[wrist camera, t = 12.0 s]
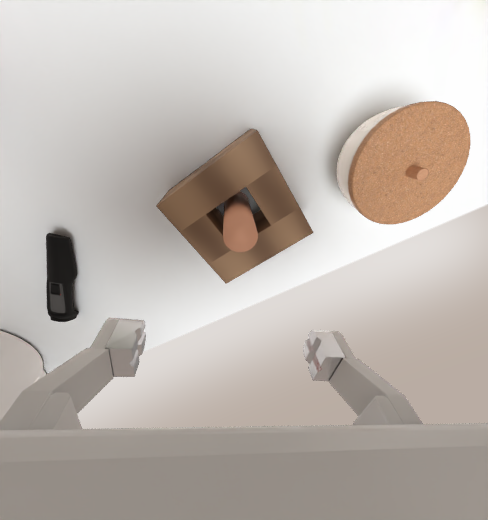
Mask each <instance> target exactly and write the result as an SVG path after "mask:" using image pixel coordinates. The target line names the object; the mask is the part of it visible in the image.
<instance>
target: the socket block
mask: <svg viewBox="0 0 488 520" xmlns="http://www.w3.org/2000/svg"><path fill="white" fill-rule="evenodd" d="M245 187H246V188H247V189H248V191H249V192H250V194H251V195H252V197H253V198H254V200H255V201H256V203H257V205H258V206H259V208H260V209H261V210H259V211H258V212H256V213H254V214H253V218H254V222H255V225H256V229H257V232H258V240H257V242H256V244H255V246H254V247H253V248H251V249H250V250H248V251H245V252H235V251H232V250H230V249H229V248H228V247H227V246H226V245H225V243H224V240H223V222H224V217H223V216H222V214H221V213H220V212H219V210H218V209H217V208H216V207H217V206H219V205H220V204H221V203H223V202H224V201H226V200H227V199H229V198H230V197H232V196H233V195H235V194H236V193H237V192H239V191H240V190H242V189H243V188H245ZM157 207H158V209H159V210H160V211H161V212H162V213H163V214H164V215H165V216H166V217H167V219H168V220H169V221H170V222H171V223H172V224H173V225H174V226H175V227H176V229H177V230H178V231H179V232H180V233H181V234H182V235H183V236H184V237H185V239H186V240H187V241H188V242H189V243H190V244H191V245H192V246H193V247H194V249H195V250H196V251H197V252H198V253H199V254H200V255H201V256H202V257H203V259H204V260H205V261H206V262H207V263H208V264H209V265H210V266H211V267H212V269H213V270H214V271H215V272H216V273H217V274H218V275H219V276H220V277H221V279H222V280H223V281H224V282H225V283H228V282H230V281H232V280H233V279H235V278H237V277H238V276H240V275H242V274H244V273H245V272H247V271H249V270H250V269H252V268H254V267H255V266H257V265H259V264H261V263H262V262H264V261H266V260H267V259H269V258H271V257H273V256H274V255H276V254H278V253H279V252H281V251H283V250H285V249H286V248H288V247H290V246H291V245H293V244H295V243H297V242H298V241H300V240H302V239H303V238H305V237H307V236H308V235H310V234H312V233H313V231H312V229H311V227H310V226H309V224H308V222H307V220H306V218H305V216H304V215H303V213H302V211H301V209H300V207H299V205H298V204H297V202H296V200H295V198H294V196H293V194H292V193H291V191H290V189H289V187H288V185H287V184H286V182H285V180H284V178H283V176H282V174H281V173H280V171H279V169H278V167H277V165H276V163H275V162H274V160H273V158H272V156H271V154H270V152H269V151H268V149H267V147H266V145H265V143H264V141H263V140H262V138H261V136H260V134H259V132H258V131H257V130H255V129H250V130H248V131H247V132H246V133H244V134H243V135H242V136H240V137H239V138H238V139H236V140H235V141H234V142H232V143H231V144H230V145H228V146H227V147H226V148H225V149H223V150H222V151H221V152H219V153H218V154H217V155H215V156H214V157H213V158H211V159H210V160H209V161H207V162H206V163H205V164H203V165H202V166H201V167H199V168H198V169H197V170H195V171H194V172H193V173H191V174H190V175H189V176H187V177H186V178H185V179H183V180H182V181H181V182H179V183H178V184H177V185H175V186H174V187H173V188H172V189H170V190H169V191H168V192H167V193H166V195H165V196H164V197H163V198H162V199H161V201H160V202H159V203H158V204H157Z"/></svg>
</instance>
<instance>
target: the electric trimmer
mask: <svg viewBox="0 0 488 520" xmlns="http://www.w3.org/2000/svg"><path fill="white" fill-rule="evenodd" d="M46 249H47V309H48V315H49V316H51V320H53V321H58V322H66V321H70V320H73V319H75V318H76V317H77V314H78V311H76V310H74V308H73V287H72V285H73V282H74V280H75V278H76V276H77V270H76V265H75V260H74V255H73V250H72V245H71V240H70V238H68V237H64V236H60V235H56V234H51V233H48V234H47V236H46Z"/></svg>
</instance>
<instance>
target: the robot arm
mask: <svg viewBox="0 0 488 520" xmlns="http://www.w3.org/2000/svg"><path fill="white" fill-rule="evenodd" d="M144 328H145V321H144V320H133V319H118V318H108V319H107V320H106V321H105V323H104V325H103V326H102V328H101V330H100V332H99V333H98V335H97V337H96V339H95V340H94V342H93V344H92V346H91V347H90V348H86V349H84V350H83V351H81V352H80V353H78V354H77V355H75V356H74V357H72V358H71V359H69V360H68V361H66V362H65V363H63V364H62V365H60V366H59V367H57V368H56V369H54V370H53V371H51V372H50V373H48V374H46V373H45V371H44V370H43V361H42V358H41V356H40V354H39V353H38V352H37V351H36V350H35V349H34V348H33V347H32V346H31V345H29V344H28V343H27V342H25V341H23V340H22V339H20V338H18V337H16V336H14V335H11V334H9V333H6V332H3V331H0V520H488V423H481V424H423V423H422V421H421V420H420V419H419V417H418V415H417V414H416V412H415V411H414V409H413V408H412V406H411V405H410V403H409V402H408V400H407V399H406V397H405V396H404V395H403V394H402V393H401V392H399V391H398V390H397V389H396V388H394V387H393V386H392V385H390V384H389V383H388V382H387V381H386V380H384V379H383V378H382V377H381V376H379V375H378V374H377V373H375V372H374V371H373V370H372V369H371V368H369V367H368V366H367V365H366V364H364V363H363V362H362V361H361V360H359V359H356V358H355V356H354V355H353V353H352V351H351V350H350V348H349V346H348V344H347V342H346V341H345V339H344V337H343V335H342V334H341V333H340V332H338V331H318V330H311V331H310V332H309V334H308V336H309V339H308V340H306V341H305V344H304V347H303V352H304V357H305V360H306V361H307V362H308V363H309V364H310V365H309V367H308V368H309V371H310V374H311V377H312V380H316V381H317V380H318V381H329V383H330V384H331V385H332V386H333V388H334V389H335V390H336V391H337V392H338V393H339V395H340V396H341V397H342V398H343V399H344V400H345V401H346V402H347V404H348V405H349V406H350V407H351V408H352V409H353V411H354V412H355V413H356V414H357V415H358V416H359V417H358V418H357V419H356V420H355V421H354V423H353V425H340V426H339V425H338V426H271V427H270V426H269V427H268V426H267V427H266V426H263V427H196V428H195V427H194V428H125V429H123V428H121V429H82V427H81V424H80V422H79V419H78V416H77V413H78V412H79V411H80V410H81V409H82V408H83V407H84V406H85V405H87V404H88V402H90V401H91V400H92V399H93V398H94V396H95V395H97V394H98V393H99V392H100V391H101V390H102V389H103V388H104V387H105V386H106V385H107V384H108V383H109V382H110V381H111V380H112V379H113V377H134V376H135V374H136V370H137V368H138V365H139V356H140V355H141V354H142V353H143V349H144V345H145V338H146V334H145V332H144Z"/></svg>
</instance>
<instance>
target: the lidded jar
mask: <svg viewBox="0 0 488 520" xmlns="http://www.w3.org/2000/svg"><path fill="white" fill-rule="evenodd" d="M469 149H470V133H469V127H468V125H467V123H466V120H465V118H464V117H463V116H462V114H461V113H460V112H459V111H458V110H457V109H456V108H454V107H453V106H451V105H448V104H446V103H442V102H437V101H433V102H419V103H415V104H410V105H405V106H400V107H395V108H392V109H389V110H386V111H384V112H381V113H379V114H377V115H375V116H373V117H371V118H370V119H368V120H366V121H365V122H364V123H363V124H361V125H360V126H359V127H358V128H357V129H356V130H355V131H354V132H353V133H352V134H351V135H350V137H349V138H348V139H347V141H346V143H345V144H344V146H343V148H342V150H341V152H340V155H339V158H338V163H337V181H338V185H339V188H340V190H341V192H342V194H343V196H344V197H345V198H346V200H347V201H348V202H349V203H350V204H351V205H352V206H353V207H354V208H356V209H357V210H358V211H359V212H360V213H361V214H362V215H363V216H365V217H366V218H367V219H369V220H371V221H373V222H377V223H380V224H398V223H403V222H406V221H409V220H412V219H414V218H417V217H419V216H421V215H422V214H424V213H426V212H428V211H429V210H430V209H432V208H433V207H434V206H436V205H437V204H438V203H439V202H440V201H441V200H442V199H444V197H445V196H446V195H447V194H448V193H449V192H450V191H451V189H452V188H453V187H454V185H455V184H456V183H457V181H458V179H459V177H460V176H461V174H462V172H463V169H464V167H465V165H466V162H467V159H468V155H469Z"/></svg>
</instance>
